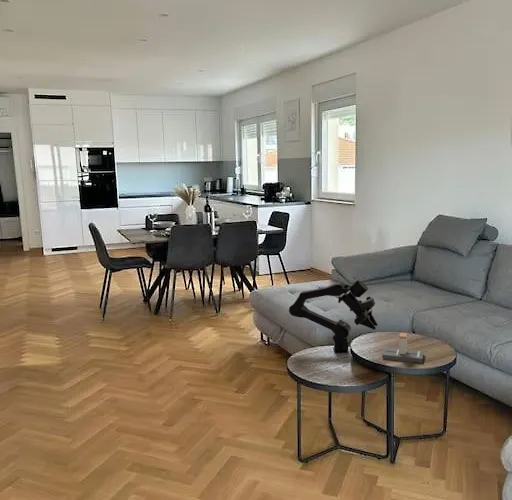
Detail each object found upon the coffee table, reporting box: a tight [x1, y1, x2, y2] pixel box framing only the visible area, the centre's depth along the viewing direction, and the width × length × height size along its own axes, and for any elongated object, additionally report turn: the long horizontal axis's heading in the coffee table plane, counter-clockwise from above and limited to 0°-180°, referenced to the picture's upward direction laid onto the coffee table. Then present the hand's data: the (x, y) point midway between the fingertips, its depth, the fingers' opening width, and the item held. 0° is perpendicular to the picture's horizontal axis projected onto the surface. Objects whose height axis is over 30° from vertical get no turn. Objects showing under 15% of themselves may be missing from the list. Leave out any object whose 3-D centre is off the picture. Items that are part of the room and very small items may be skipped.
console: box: [381, 347, 425, 364], centre depth 236 cm, size 18×10×2 cm, turn 68°
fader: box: [398, 332, 408, 354], centre depth 235 cm, size 3×5×9 cm, turn 158°
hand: (376, 327), depth 238 cm, fingers open, 5 cm apart
